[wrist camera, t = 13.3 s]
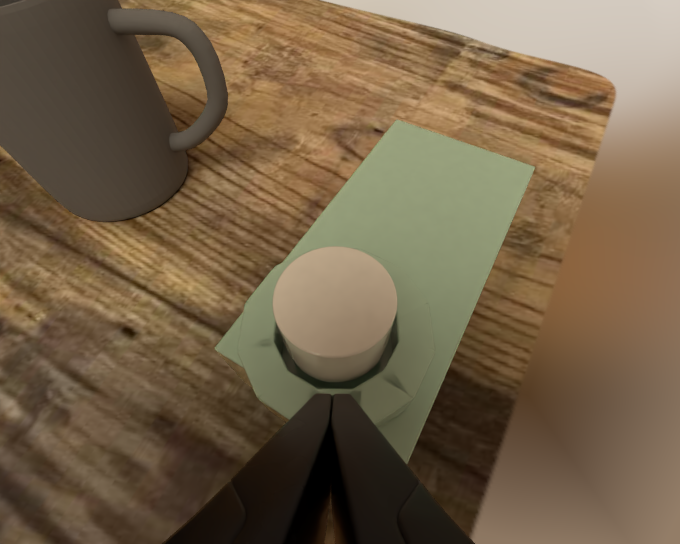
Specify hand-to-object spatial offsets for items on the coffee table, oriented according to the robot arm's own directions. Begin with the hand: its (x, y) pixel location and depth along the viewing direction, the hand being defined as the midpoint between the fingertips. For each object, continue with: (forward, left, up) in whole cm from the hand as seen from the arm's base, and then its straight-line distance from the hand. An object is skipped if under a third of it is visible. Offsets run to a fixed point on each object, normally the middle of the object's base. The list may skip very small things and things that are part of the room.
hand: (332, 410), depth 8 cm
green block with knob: (-4, -8, -9) cm, 13 cm away
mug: (+11, -19, -10) cm, 24 cm away
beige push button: (0, -3, -3) cm, 4 cm away
